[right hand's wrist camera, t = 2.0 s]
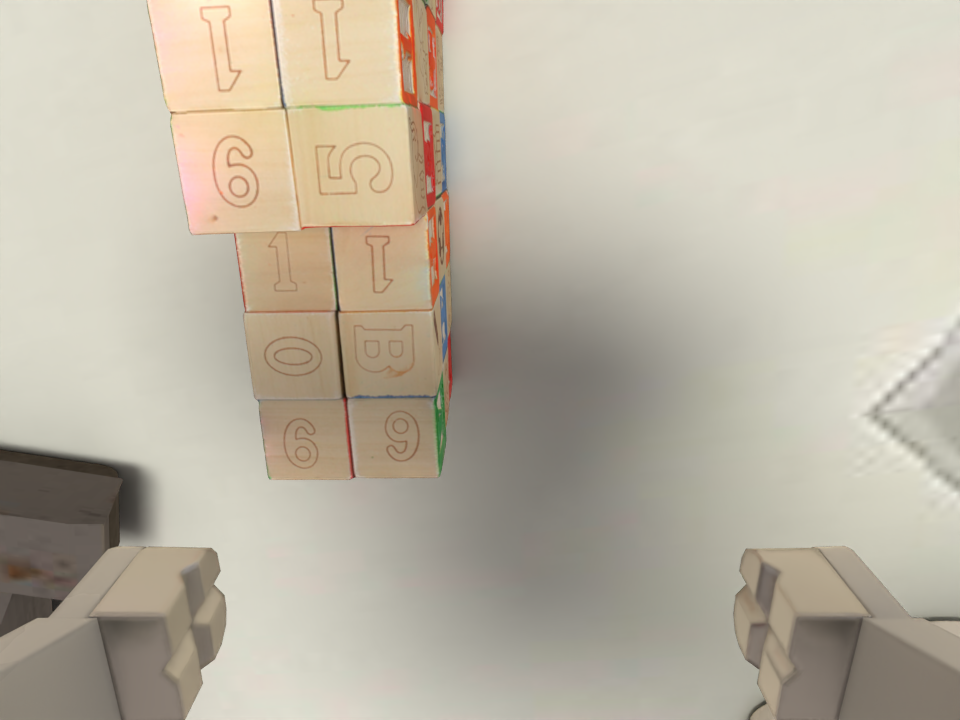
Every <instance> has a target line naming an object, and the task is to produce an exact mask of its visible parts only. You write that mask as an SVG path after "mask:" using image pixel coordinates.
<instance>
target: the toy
mask: <svg viewBox="0 0 960 720" xmlns="http://www.w3.org/2000/svg"><path fill="white" fill-rule="evenodd" d="M122 482H123V479H121V478H118V474H117V472H116V471H115V470H114V469H113V468H111V467H108V466H105V465H98V464H92V463H85V462H78V461H72V460H65V459H58V458H52V457H45V456H38V455H31V454H25V453H18V452H11V451H5V450H0V637H2V636H4V635H6V634H7V633H9V632H11V631H13V630H15V629H17V628H19V627H21V626H23V625H25V624H27V623H29V622H31V621H32V620H34V619H36V618H48V617H49V616H50V615H51V614H52V599H55V600H64V599H65V598H66V597H67V596H68V594H69V593H70V592H71V591H72V590H73V589H74V588H75V586H76V585H77V584H78V583H79V582H80V581H81V579H82V578H83V577H84V576H85V575H86V574H87V573H88V571H89V570H90V569H91V568H92V567H93V566H94V565H95V563H96V562H97V561H98V560H99V559H100V558H101V556H102V555H103V554H104V553H105V552H106V551H107V550H108V549H111V548H114V547H116V546H118V545H119V542H120V533H119V490H120V487H121V485H122Z"/></svg>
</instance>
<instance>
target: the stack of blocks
mask: <svg viewBox="0 0 960 720" xmlns="http://www.w3.org/2000/svg"><path fill="white" fill-rule="evenodd" d="M147 7H148V14H149V18H150V23H151V27H152V33H153V39H154V46H155V50H156V56H157V61H158V66H159V72H160V78H161V83H162V89H163V95H164V100H165V103H166V106H167V107H168V109H169V111H170V113H171V121H170V123H171V131H172V137H173V142H174V148H175V153H176V159H177V164H178V170H179V175H180V181H181V187H182V193H183V198H184V203H185V208H186V213H187V219H188V225H189V230H190V232H191V234H192V235H203V234H230V233H234V236H235V243H236V250H237V257H238V264H239V271H240V278H241V286H242V294H243V301H244V307H245V312H244V314H243V319H244V327H245V334H246V342H247V349H248V356H249V363H250V370H251V378H252V385H253V392H254V397H255V399H256V400H258V402H259V414H260V422H261V429H262V435H263V444H264V451H265V458H266V466H267V473H268V477H269V479H270V480H310V479H318V480H350V479H352V478H354V477H358V478H438V477H439V476H440V474H441V470H442V464H443V458H444V453H445V447H446V425H447V419H448V412H449V401H450V397H451V390H452V364H451V338H450V328H451V323H452V311H451V277H450V235H449V195H448V190H447V188H446V154H445V118H444V92H443V56H442V34H443V0H147Z"/></svg>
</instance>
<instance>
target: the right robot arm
mask: <svg viewBox="0 0 960 720" xmlns="http://www.w3.org/2000/svg"><path fill="white" fill-rule="evenodd" d="M220 571H221V570H220V565H219V561H218V556H217V553H216V552H215V551H214V550H213V549H212V548H192V547H144V546H116V547H114V548H111V549H108V550H107V551H106V552H105V553H104V554H103V555H102V556H101V558H100V559H99V560H98V561H97V562H96V563H95V565H94V566H93V567H92V568H91V569H90V570H89V571H88V573H87V574H86V575H85V576H84V577H83V578H82V579H81V581H80V582H79V583H78V584H77V585H76V586H75V588H74V589H73V590H72V591H71V592H70V593H69V594H68V596H67V597H66V598H65V599H64V600H63V601H62V603H61V604H60V605H59V606H58V607H57V608H56V609H55V611H54V612H53V613H52V614H51V615H50V616H49V617H48V618H36V619H34V620H32V621H31V622H29V623H27V624H25V625H23V626H21V627H19V628H17V629H15V630H13V631H11V632H9V633H7V634H6V635H4V636H2V637H0V720H185V719H186V717H187V715H188V713H189V711H190V709H191V707H192V705H193V702H194V700H195V698H196V696H197V694H198V692H199V690H200V688H201V686H202V684H203V681H202V675H201V669H202V668H204V667H205V666H206V665H208V664H209V663H210V662H212V661H213V660H215V658H216V655H217V653H218V651H219V649H220V647H221V645H222V641H223V636H224V632H225V627H226V602H225V595H224V594H223V593H222V592H221V591H220V590H219V589H218V588H217V587H216V586H215V585H214V582H215V580H216V579H217V577H218V575H219V573H220ZM739 571H740V573H741V575H742V577H743V579H744V580H745V582H746V585H745V586H744V587H743V588H742V589H741V590H740V591H739V592H738V593H737V594H736V595H735V604H734V612H733V616H734V626H735V634H736V637H737V641H738V644H739V647H740V649H741V651H742V653H743V656H744V658H745V660H747V661H748V662H750V663H751V664H752V665H754V666H755V667H756V668H758V669H759V675H758V681H757V684H758V686H759V688H760V690H761V692H762V694H763V696H764V698H765V700H766V702H767V704H765V705H763V706H762V707H760V708H759V709H757V710H756V711H755V712H754V713H753V714H752V716H751V718H750V720H960V621H930V622H929V621H928V620H926V619H924V618H911V616H910V615H909V614H908V613H907V612H906V611H905V609H904V608H903V607H902V606H901V605H900V604H899V603H898V601H897V600H896V599H895V598H894V597H893V596H892V595H891V593H890V592H889V591H888V590H887V589H886V588H885V586H884V585H883V584H882V583H881V582H880V581H879V580H878V578H877V577H876V576H875V575H874V574H873V573H872V572H871V570H870V569H869V568H868V567H867V566H866V565H865V563H864V562H863V561H862V560H861V559H860V558H859V557H858V555H857V554H856V553H855V552H854V551H853V550H852V549H850V548H848V547H846V546H829V547H812V548H761V549H746V550H745V552H744V554H743V556H742V559H741V565H740V570H739Z"/></svg>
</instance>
